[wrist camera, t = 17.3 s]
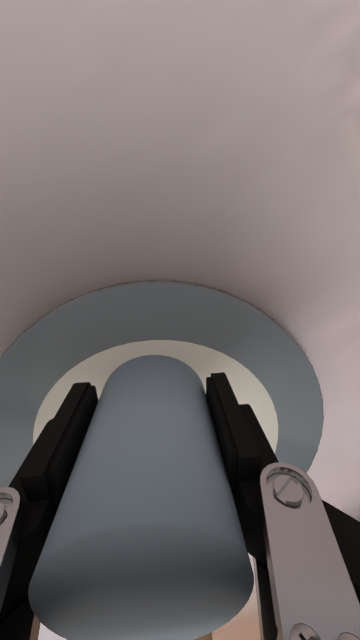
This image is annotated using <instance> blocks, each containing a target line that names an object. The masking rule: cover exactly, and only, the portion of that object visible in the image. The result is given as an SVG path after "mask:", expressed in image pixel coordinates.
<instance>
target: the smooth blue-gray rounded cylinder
mask: <svg viewBox="0 0 360 640" xmlns="http://www.w3.org/2000/svg"><path fill="white" fill-rule="evenodd" d="M253 585H254V575H253V571H252V567H251V563H250V559H249V556H248V552H247V548H246V544H245V540H244V537H243V533H242V529H241V525H240V521H239V518H238V514H237V510H236V506H235V502H234V499H233V495H232V491H231V487H230V484H229V480H228V476H227V472H226V468H225V465H224V461H223V457H222V453H221V449H220V446H219V442H218V438H217V434H216V430H215V427H214V423H213V419H212V415H211V411H210V408H209V404H208V400H207V396H206V392H205V389H204V385H203V383H202V380H201V379H200V377H199V375H198V374H197V373H196V372H195V371H194V370H193V369H192V368H191V367H190V366H188V365H187V364H186V363H184V362H182V361H180V360H178V359H175V358H172V357H169V356H164V355H146V356H140V357H136V358H134V359H131V360H129V361H127V362H125V363H123V364H122V365H120V366H119V367H117V368H116V369H115V370H114V371H113V372H112V373H111V375H110V376H109V377H108V379H107V381H106V382H105V385H104V387H103V390H102V393H101V395H100V398H99V401H98V403H97V406H96V409H95V411H94V414H93V417H92V419H91V422H90V425H89V427H88V430H87V433H86V435H85V438H84V441H83V443H82V446H81V449H80V451H79V454H78V456H77V459H76V462H75V464H74V467H73V470H72V472H71V475H70V478H69V480H68V483H67V486H66V488H65V491H64V494H63V496H62V499H61V502H60V504H59V507H58V510H57V512H56V515H55V518H54V520H53V523H52V526H51V528H50V531H49V533H48V536H47V539H46V541H45V544H44V547H43V549H42V552H41V555H40V557H39V560H38V563H37V565H36V568H35V571H34V573H33V576H32V579H31V581H30V584H29V591H28V596H29V603H30V606H31V609H32V611H33V612H34V614H35V616H36V617H37V618H38V619H39V621H40V622H41V623H42V624H43V625H45V626H46V627H47V628H48V629H49V630H51V631H52V632H54V633H56V634H57V635H59V636H61V637H63V638H66V639H68V640H194V639H197V638H199V637H202V636H204V635H206V634H208V633H211V632H213V631H214V630H216V629H218V628H220V627H221V626H223V625H224V624H226V623H227V622H229V621H230V620H231V619H232V618H233V617H235V616H236V615H237V614H238V613H239V612H240V611H241V609H242V608H243V607H244V606H245V604H246V603H247V601H248V600H249V597H250V595H251V593H252V589H253Z"/></svg>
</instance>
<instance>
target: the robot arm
mask: <svg viewBox="0 0 360 640" xmlns="http://www.w3.org/2000/svg"><path fill="white" fill-rule="evenodd" d="M206 396H207V400H208V404H209V408H210V411H211V415H212V419H213V423H214V427H215V430H216V434H217V438H218V442H219V446H220V449H221V453H222V457H223V461H224V465H225V468H226V472H227V476H228V480H229V484H230V487H231V491H232V495H233V499H234V502H235V506H236V510H237V514H238V518H239V521H240V525H241V529H242V533H243V537H244V540H245V544H246V548H247V552H248V553H249V554H251V555H252V556H253V562H254V572H255V583H256V594H257V604H258V615H259V626H260V636H261V640H360V522H359V521H357V520H355V519H354V518H352V517H350V516H349V515H347V514H345V513H344V512H342V511H340V510H339V509H337V508H335V507H333V506H332V505H330V504H328V503H327V502H325V501H323V500H322V499H321V497H320V494H319V492H318V489H317V487H316V485H315V484H314V482H313V480H312V479H311V478H310V477H309V476H308V475H307V474H306V473H305V472H303V471H302V470H301V469H299V468H297V467H295V466H293V465H291V464H287V463H283V462H279V461H278V459H277V457H276V455H275V453H274V451H273V449H272V447H271V445H270V443H269V441H268V439H267V437H266V435H265V433H264V431H263V429H262V427H261V425H260V423H259V421H258V419H257V417H256V415H255V413H254V411H253V409H252V408H251V406H250V405H249V404H239V403H238V401H237V399H236V396H235V394H234V392H233V390H232V387H231V385H230V383H229V380H228V378H227V376H226V374H225V372H221V373H211V377H206ZM97 403H98V397H97V391H96V387H95V386H94V385H91V384H90V382H82V383H74V384H73V385H72V387H71V389H70V391H69V392H68V394H67V396H66V398H65V399H64V401H63V403H62V404H61V406H60V408H59V410H58V411H57V413H56V415H55V416H54V418H53V419H51V420H49V421H48V422H47V423H46V425H45V427H44V428H43V430H42V432H41V433H40V435H39V437H38V438H37V440H36V442H35V443H34V445H33V447H32V448H31V450H30V451H29V453H28V455H27V456H26V458H25V460H24V461H23V463H22V465H21V466H20V468H19V470H18V471H17V473H16V475H15V476H14V478H13V480H12V481H11V483H10V485H9V486H8V487H2V488H0V640H38V634H39V628H40V621H39V619H38V618H37V617H36V616H35V614H34V612H33V611H32V609H31V606H30V603H29V596H28V591H29V584H30V581H31V579H32V576H33V573H34V571H35V568H36V565H37V563H38V560H39V557H40V555H41V552H42V549H43V547H44V544H45V541H46V539H47V536H48V533H49V531H50V528H51V526H52V523H53V520H54V518H55V515H56V512H57V510H58V507H59V504H60V502H61V499H62V496H63V494H64V491H65V488H66V486H67V483H68V480H69V478H70V475H71V472H72V470H73V467H74V464H75V462H76V459H77V456H78V454H79V451H80V449H81V446H82V443H83V441H84V438H85V435H86V433H87V430H88V427H89V425H90V422H91V419H92V417H93V414H94V411H95V409H96V406H97Z"/></svg>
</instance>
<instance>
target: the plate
mask: <svg viewBox="0 0 360 640" xmlns="http://www.w3.org/2000/svg"><path fill="white" fill-rule="evenodd" d="M146 355H164V356H169V357H172V358H175V359H178V360H180V361H182V362H184V363H186V364H187V365H188V366H190V367H191V368H192V369H193V370H194V371H195V372H196V373H197V374H198V375H199V377H200V379H201V380H202V383H203V385H204V389H205V392H206V377H211V373H221V372H225V374H226V376H227V378H228V380H229V383H230V385H231V387H232V390H233V392H234V394H235V396H236V399H237V401H238V403H239V404H249V405H250V406H251V408H252V409H253V411H254V413H255V415H256V417H257V419H258V421H259V423H260V425H261V427H262V429H263V431H264V433H265V435H266V437H267V439H268V441H269V443H270V445H271V447H272V449H273V451H274V453H275V455H276V457H277V459H278V461H279V462H283V463H287V464H291V465H293V466H295V467H297V468H299V469H301V470H302V471H303V472H305V473H307V471H308V469H309V468H310V466H311V464H312V462H313V459H314V457H315V455H316V453H317V450H318V446H319V443H320V439H321V435H322V428H323V419H324V415H323V399H322V394H321V390H320V385H319V382H318V379H317V377H316V374H315V372H314V369H313V367H312V365H311V363H310V362H309V360H308V358H307V357H306V355H305V353H304V352H303V350H302V349H301V348H300V346H299V345H298V344H297V343H296V342H295V341H294V339H293V338H292V337H291V336H290V335H289V334H288V333H287V332H286V331H285V330H284V329H283V328H281V327H280V326H279V325H278V324H277V323H275V322H274V321H273V320H272V319H271V318H269V317H268V316H267V315H266V314H264V313H263V312H262V311H260V310H258V309H257V308H255V307H254V306H252V305H250V304H249V303H247V302H245V301H244V300H241V299H239V298H237V297H235V296H232V295H230V294H228V293H225V292H223V291H220V290H216V289H213V288H209V287H206V286H202V285H199V284H192V283H185V282H178V281H139V282H130V283H122V284H117V285H113V286H109V287H106V288H102V289H98V290H94V291H92V292H89V293H87V294H84V295H82V296H79V297H77V298H75V299H72V300H70V301H68V302H67V303H65V304H63V305H61V306H60V307H58V308H56V309H55V310H53V311H51V312H49V313H48V314H47V315H45V316H44V317H43V318H41V319H40V320H39V321H37V322H36V323H35V324H34V325H32V326H31V327H30V328H29V329H27V330H26V331H25V332H24V333H22V334H21V335H20V336H19V337H18V338H17V339H16V340H15V342H14V343H13V344H12V345H11V346H10V347H9V348H8V349H7V350H6V351H5V352H4V354H3V356H2V357H1V359H0V488H2V487H8V486H9V485H10V483H11V481H12V480H13V478H14V476H15V475H16V473H17V471H18V470H19V468H20V466H21V465H22V463H23V461H24V460H25V458H26V456H27V455H28V453H29V451H30V450H31V448H32V447H33V445H34V443H35V442H36V440H37V438H38V437H39V435H40V433H41V432H42V430H43V428H44V427H45V425H46V423H47V422H48V421H49V420H51V419H53V418H54V416H55V415H56V413H57V411H58V410H59V408H60V406H61V404H62V403H63V401H64V399H65V398H66V396H67V394H68V392H69V391H70V389H71V387H72V385H73V384H74V383H82V382H90V384H91V385H94V386H95V387H96V391H97V397H98V401H99V398H100V395H101V393H102V390H103V387H104V385H105V382H106V381H107V379H108V377H109V376H110V375H111V373H112V372H113V371H114V370H115V369H116V368H117V367H119V366H120V365H122V364H123V363H125V362H127V361H129V360H131V359H134V358H136V357H140V356H146Z"/></svg>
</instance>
